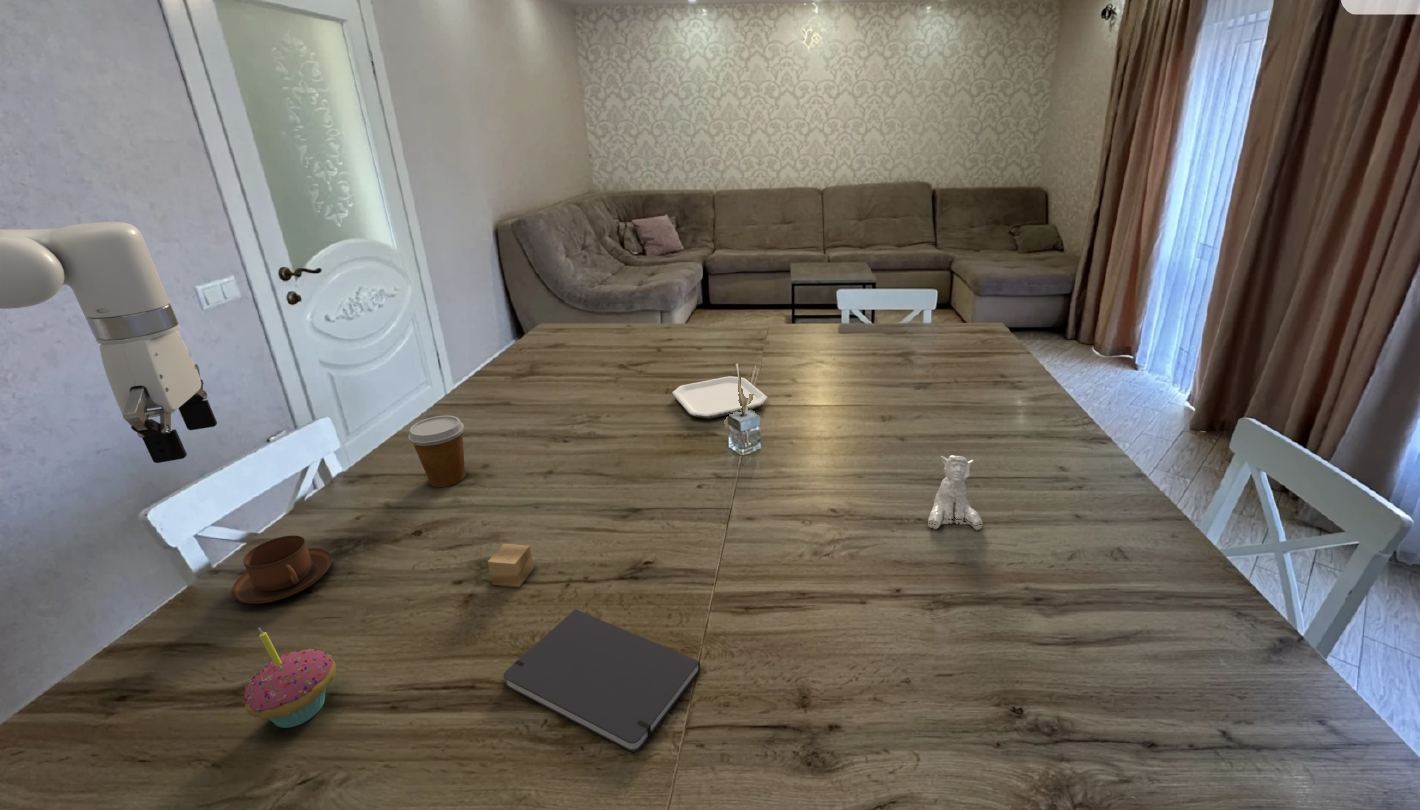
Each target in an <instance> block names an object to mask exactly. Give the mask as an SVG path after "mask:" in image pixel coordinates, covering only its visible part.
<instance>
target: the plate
mask: <svg viewBox="0 0 1420 810" xmlns="http://www.w3.org/2000/svg"><path fill="white" fill-rule="evenodd" d="M738 377H739V376H734V375H733V376H731V375H729V376H724V377H718V378H713V379H709V380H702V381H698V382H693V383H687V384H681V385H679V386H678V387H677V388H676V389H674V390H673V391H672V393H671V394H672V395H671V396H673V398H675V400H677V402H678V403H679V404H680V405H681V407H683V409H684V410H685V411H686V412H687V413H688V414H689V415H690V416H693V417H696V418H700V419H707V420H709V419H717V418H721V417H725V416H729V415H728V413H731V412H736V411H738V412H739V413H742V412H741V411H740V410H741V408H742V406H740V403H739V401H738V400H739V396H738V394H739V392H738ZM741 388H742V389H743V394H744V396H745V397H746V398H749V394H754V395H753V400H752V401H751V403H750V404H748V405H747V406H748V411H752V410H754V409H757V408H759V407H761V406H763V405H764V404H765V402H766V401H767V400H768V396H767V395H766V394H764V393H763V392H762V391H761V390H760V389H758V388H757V387H756V386H755V385H754V384H753V383H751V382H750V381H749V380H747V379H746V378H745V377H741ZM751 408H752V409H751Z"/></svg>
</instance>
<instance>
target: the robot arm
mask: <svg viewBox="0 0 1420 810" xmlns="http://www.w3.org/2000/svg"><path fill="white" fill-rule="evenodd" d="M63 286H68V287H70V289H71V290H72V292H73V294H74V296H75V298H76V301H77V302H78V305H79V307H80V309H81V311H82V313H83V315H84V318H85V320H86V322H87V324H88V326H89V329H90V330H91V333H92V335H93V338H94V339H95V341H96V343H97V344H100V345H99V351H100V356H101V360H102V365H103V369H104V372H105V374H106V378H107V381H108V383H109V385H110V389H111V391H112V393H113V396H114V398H115V401H116V403H117V406H118V408H119V410H120V413H121V415H122V418H123V419H124V420H125V421H126V422H127V424H129V425H130V428H131V429H132V431H134V432H136V434H137V437H138V438H141V439H142V441H143V443H144V445H145V447H146V449H147V452H148V454H149V456H150V458H151V460H152V462H153V463H154V464H160V463H165V462H172V461H178V460H183V459H185V458H186V457H187V456H188V455H187V454H188V453H187V451H186V449H185V447H184V444H183V442H182V439H181V437H180V435H179V432H178V431H177V429H176V428H175V429H172V414H173V413H174V412H176V411H177V410H178V411H179V413H180V415H181V417H182V420H183V422H184V424H185V425H184V426H185V427H186V429H187V430H188V431H196V430H197V431H198V430H203V429H209V428H214V427H216V426H217V424H218V421H217V418H216V417H215V414H214V411H213V410H212V407H211V405H210V402H209V400H208V393H207V392H206V391H205V389H204V380H203V379H202V378H201V373H200V367H199V365H198V363H197V364H196V363H195V362H194V358H193V357H192V354H191V352H190V351H189V350H188V349H189V348H188V346H187V345H186V344H185V341H184V339H183V337H182V336H181V334H180V332H179V331H178V330H180V329H181V326H180V323H179V321H178V318H177V316H176V313H175V311H174V309H173V306H172V304H171V301H170V299H169V297H168V295H167V292H166V290H165V287H164V284H163V283H162V280H161V277H160V275H159V272H158V270H157V267H156V265H155V262H154V260H153V258H152V256H151V253H150V251H149V249H148V246H147V243H146V241H145V239H144V236H143V235H142V232H141V231H140V230H139V229H138V228H137V227H136V226H135V225H133V224H131V223H128V222H124V221H123V222H122V221H102V222H101V221H100V222H90V223H89V222H88V223H87V222H86V223H80V224H79V223H77V224H72V225H67V226H62V227H59V228H39V229H37V228H36V229H33V228H32V229H30V228H29V229H27V228H26V229H24V228H23V229H22V228H21V229H17V228H16V229H15V228H14V229H9V228H8V229H7V228H5V229H0V309H1V310H2V309H4V310H5V309H6V310H7V309H9V310H10V309H20V308H28V307H33V306H36V305H40V304H42V303H45V302H47V301H48V300H51V298H53V297H54V296H56V295H57V294H58V293H59V292H60V291H61V289H62V287H63ZM158 417H159V422H158V421H156V420H154V419H152V418H158Z"/></svg>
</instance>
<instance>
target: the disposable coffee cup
mask: <svg viewBox="0 0 1420 810" xmlns="http://www.w3.org/2000/svg"><path fill="white" fill-rule="evenodd" d="M464 428H465V424H464V423H463V422H462V421H461V420H460V418H459V417H458V416H455V415H438V416H432V417H429V418H425V419H423V420H420V421H418V422H416V423H414V424H413V425H412V426H410V427H409V433H408V436H407V438H408V440H409V441H410V443H412V444H413V447H414V449H415V452H416V454H417V457H418V458H419V461H420V463H421V465H422V468H423V470H424V472H425V475H426V478H427V479H428V482H429V484H430V486H432V487H434V488H435V487H436V488H444V487H449V486H450V487H451V486H453V485H455V484H457V483H460V482H461V481H463V480H464V478H465V477H466V465H465V464H466V463H465V451H464V450H465V449H464V439H463V438H464V437H463V432H464Z"/></svg>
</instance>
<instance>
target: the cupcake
mask: <svg viewBox="0 0 1420 810" xmlns="http://www.w3.org/2000/svg"><path fill="white" fill-rule="evenodd" d="M257 630H258V631H259V633H260V634H259V635H258V636H259V639H260V640H261V643H262V644H263V646H264V648H265V650H266V652H267V654H268V655H269V657H270V659H271V660H270V661H269V662H268V663H265V664H264V667H262V668H261V669H260V670H258V672H256V673H255V674H254V675H253V676H252V678H251V679H250V680H249V682H248V684H247V685H246V686H245V690H244V693H243V694H244V698H243V702H244V707H245V711H246V713H247V714H248V715H250V716H253V717H254V718H255V717H256V718H259V719H261V720H267V719H268V720H269V721H270V722H271V723H273V724H274V725H275V726H277V727H278V728H282V729H289V728H293V727H294V728H295V727H297V726H299V725H302V724H304V723H306V722H308V721H310V720H311V719H312V718H313V717H314V716H316V715H317V714H318V713H319V712H320V711H321V709H322V708H323V706H324V704H325V701H326V700H325V699H326V698H325V697H326V690H327V687H328V685H329V684H330V683H331V682H332V681H333V680H334V678H335V677H336V673H337V664H336V662H335V660H334V659H333V657H332V654H329V653H327V651H326V650H325V649H324V650H318V649H314V648H307V649H304V648H301V649H300V650H296V651H291V652H288V653H285V654H283V655H281V656H279V654H278V652H277V650H276V648H275V646H274V644H273V643H272V640H271V639H270V637H269V635H268V633H267V632H266V631H265V632H264V631H263V630H262V629H261V627H257Z"/></svg>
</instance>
